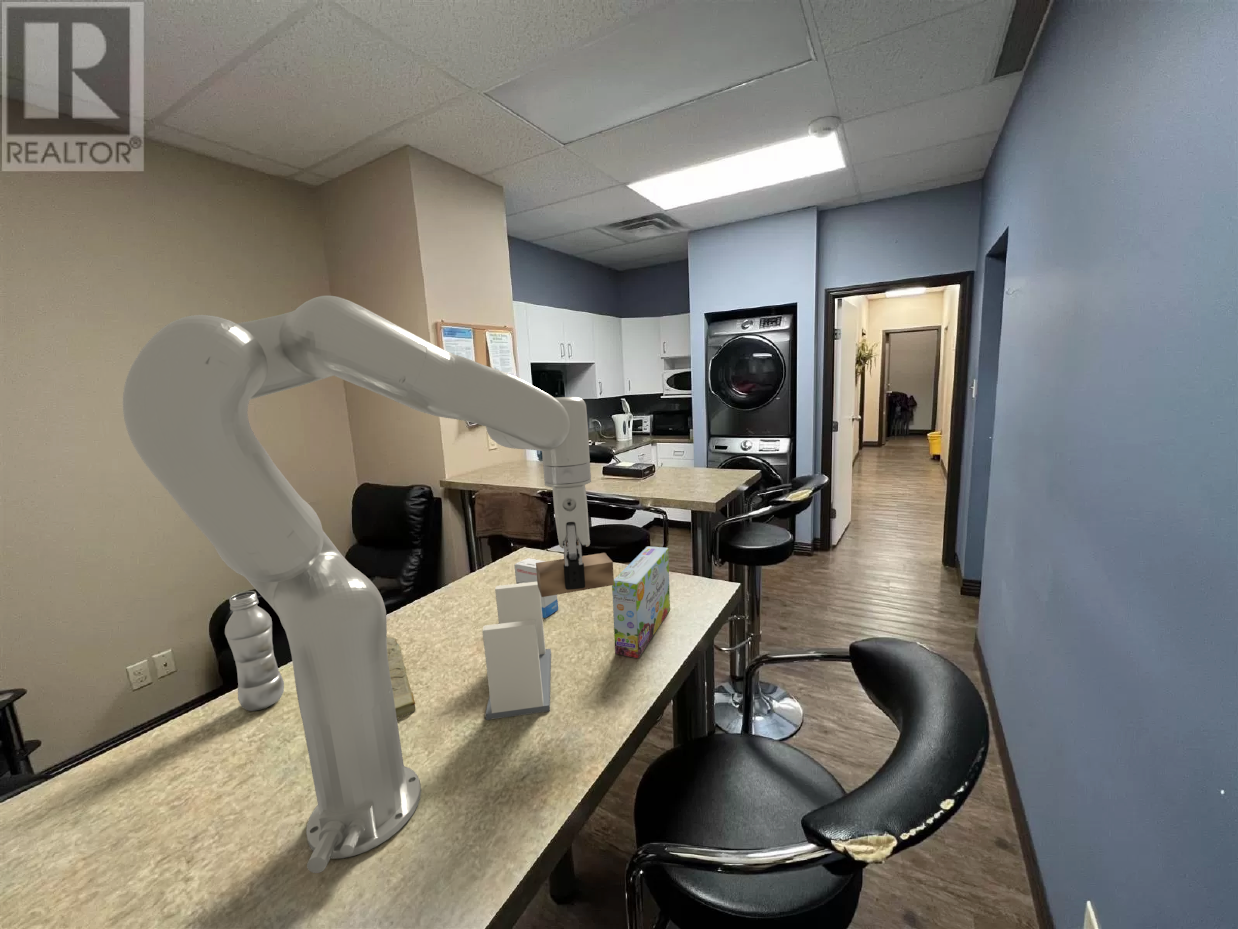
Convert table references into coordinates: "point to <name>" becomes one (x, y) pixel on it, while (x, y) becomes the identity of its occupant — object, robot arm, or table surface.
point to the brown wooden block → (595, 571)
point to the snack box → (640, 600)
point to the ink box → (527, 573)
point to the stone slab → (399, 680)
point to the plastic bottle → (253, 653)
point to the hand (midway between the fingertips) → (574, 579)
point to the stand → (517, 654)
